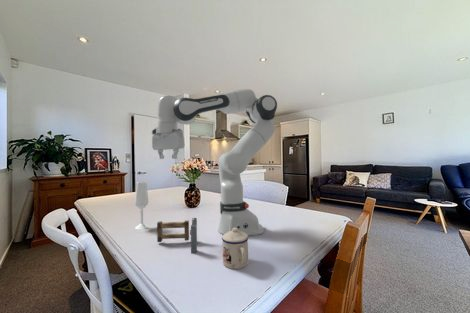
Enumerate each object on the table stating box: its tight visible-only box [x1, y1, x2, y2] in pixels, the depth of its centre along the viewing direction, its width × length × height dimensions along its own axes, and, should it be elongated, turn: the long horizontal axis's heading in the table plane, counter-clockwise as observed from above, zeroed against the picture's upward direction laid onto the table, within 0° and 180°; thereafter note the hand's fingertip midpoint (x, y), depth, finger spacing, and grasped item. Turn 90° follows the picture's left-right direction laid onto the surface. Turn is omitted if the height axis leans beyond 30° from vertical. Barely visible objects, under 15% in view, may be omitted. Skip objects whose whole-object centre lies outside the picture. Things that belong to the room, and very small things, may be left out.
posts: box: [189, 217, 198, 254], centre depth 80 cm, size 3×11×10 cm, turn 4°
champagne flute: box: [134, 181, 149, 230], centre depth 105 cm, size 7×7×24 cm
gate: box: [156, 220, 190, 243], centre depth 84 cm, size 13×3×8 cm, turn 94°
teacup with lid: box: [221, 228, 249, 270], centre depth 66 cm, size 12×9×12 cm
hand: (168, 158), depth 94 cm, fingers open, 8 cm apart
